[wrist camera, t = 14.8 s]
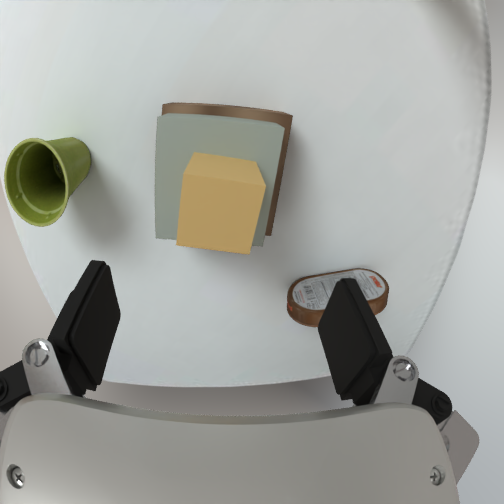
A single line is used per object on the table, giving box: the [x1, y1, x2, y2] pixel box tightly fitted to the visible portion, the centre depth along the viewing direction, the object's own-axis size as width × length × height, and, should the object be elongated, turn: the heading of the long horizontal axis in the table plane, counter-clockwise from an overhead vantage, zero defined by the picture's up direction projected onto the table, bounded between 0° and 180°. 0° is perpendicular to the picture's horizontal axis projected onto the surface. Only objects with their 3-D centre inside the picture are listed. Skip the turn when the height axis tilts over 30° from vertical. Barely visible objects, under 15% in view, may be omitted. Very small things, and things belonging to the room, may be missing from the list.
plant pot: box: [4, 137, 91, 227], centre depth 23 cm, size 9×9×9 cm
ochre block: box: [176, 152, 266, 254], centre depth 20 cm, size 5×5×6 cm
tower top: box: [155, 113, 285, 246], centre depth 24 cm, size 10×11×4 cm
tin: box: [287, 268, 389, 327], centre depth 36 cm, size 15×3×8 cm, turn 97°
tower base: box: [162, 103, 293, 236], centre depth 28 cm, size 12×13×5 cm
